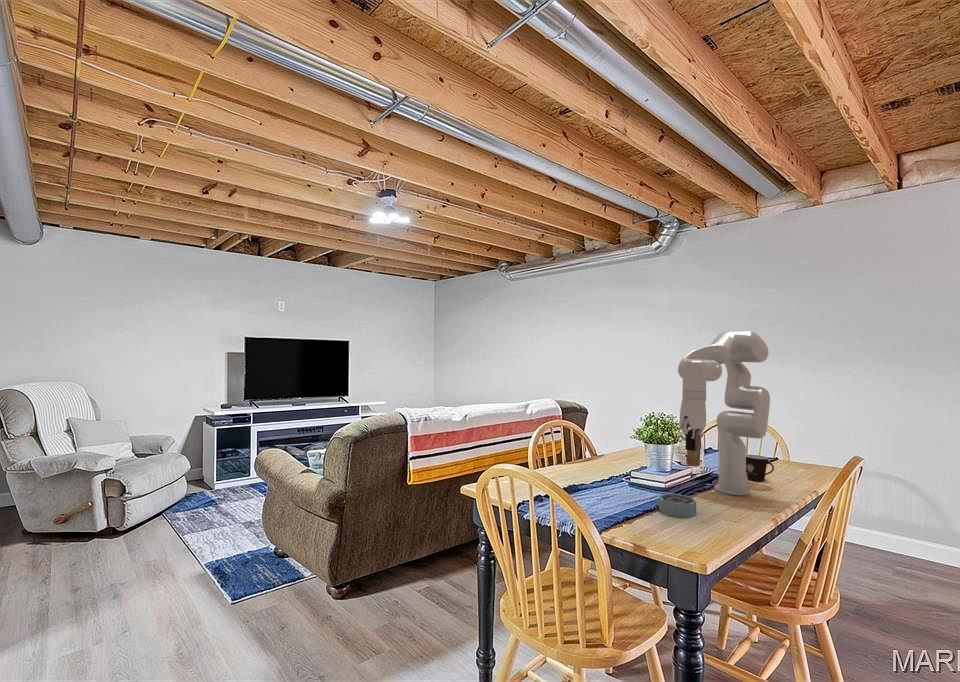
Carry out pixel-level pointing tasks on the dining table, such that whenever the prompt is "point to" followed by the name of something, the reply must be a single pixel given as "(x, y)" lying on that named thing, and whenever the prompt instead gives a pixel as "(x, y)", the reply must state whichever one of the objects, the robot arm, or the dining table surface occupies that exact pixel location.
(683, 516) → the octagonal socket dish
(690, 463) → the wood grain block
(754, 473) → the coffee mug
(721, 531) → the dining table surface
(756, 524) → the dining table surface
